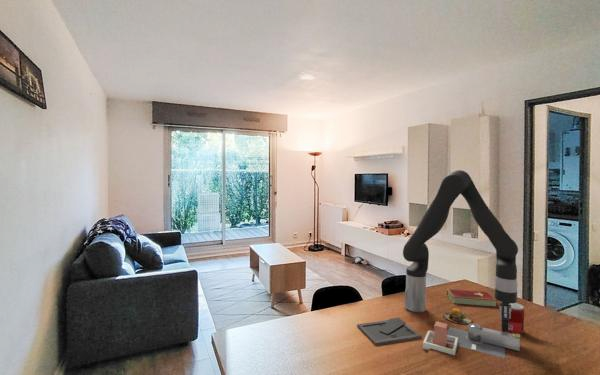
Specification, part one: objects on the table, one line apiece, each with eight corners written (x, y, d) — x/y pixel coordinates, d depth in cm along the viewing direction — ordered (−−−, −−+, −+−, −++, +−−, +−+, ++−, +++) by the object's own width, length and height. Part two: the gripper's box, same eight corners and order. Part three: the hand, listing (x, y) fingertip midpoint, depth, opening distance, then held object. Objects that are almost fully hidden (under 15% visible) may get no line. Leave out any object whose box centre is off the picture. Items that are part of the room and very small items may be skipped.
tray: (422, 348, 119) (423, 342, 119) (428, 336, 129) (428, 330, 128) (454, 357, 113) (454, 350, 113) (458, 344, 123) (458, 337, 123)
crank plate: (444, 344, 122) (444, 342, 122) (449, 329, 135) (449, 326, 135) (505, 361, 111) (505, 358, 111) (504, 342, 124) (504, 339, 124)
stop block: (433, 345, 120) (434, 325, 120) (435, 341, 124) (436, 321, 124) (445, 348, 118) (445, 328, 118) (446, 344, 122) (447, 323, 121)
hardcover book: (446, 295, 174) (446, 288, 174) (487, 298, 170) (488, 291, 170) (452, 304, 163) (452, 296, 162) (497, 307, 159) (497, 299, 158)
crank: (467, 339, 124) (467, 325, 123) (468, 334, 128) (468, 320, 128) (520, 352, 114) (520, 337, 114) (519, 346, 119) (519, 332, 118)
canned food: (527, 335, 130) (527, 309, 129) (505, 333, 131) (506, 307, 131) (518, 326, 137) (518, 302, 137) (498, 325, 139) (498, 300, 138)
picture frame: (398, 321, 143) (357, 327, 137) (399, 317, 143) (357, 323, 137) (421, 339, 127) (375, 347, 122) (421, 334, 127) (375, 341, 122)
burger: (477, 323, 141) (477, 307, 141) (462, 329, 135) (462, 312, 135) (452, 313, 151) (453, 298, 151) (437, 319, 145) (437, 303, 145)
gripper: (518, 295, 117) (517, 341, 117) (516, 285, 128) (515, 327, 128) (494, 291, 121) (493, 335, 121) (494, 282, 132) (494, 322, 132)
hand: (504, 331), depth 125 cm, fingers closed
